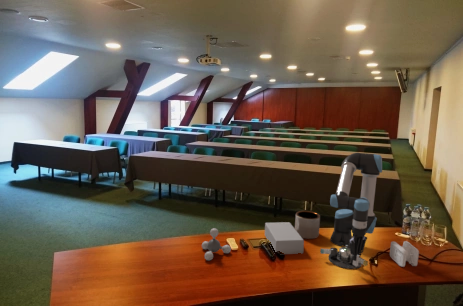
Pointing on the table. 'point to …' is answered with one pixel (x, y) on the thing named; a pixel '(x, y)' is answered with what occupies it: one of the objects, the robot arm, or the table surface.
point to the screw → (360, 261)
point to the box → (284, 238)
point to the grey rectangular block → (330, 252)
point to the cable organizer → (404, 253)
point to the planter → (307, 224)
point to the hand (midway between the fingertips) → (355, 265)
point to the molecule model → (214, 245)
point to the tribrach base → (343, 264)
